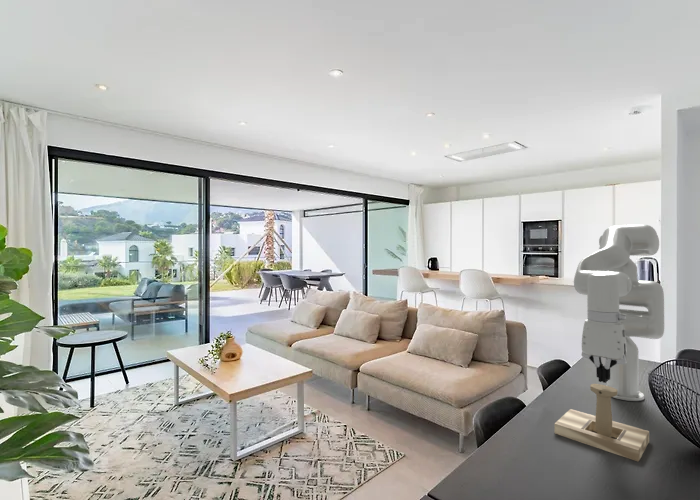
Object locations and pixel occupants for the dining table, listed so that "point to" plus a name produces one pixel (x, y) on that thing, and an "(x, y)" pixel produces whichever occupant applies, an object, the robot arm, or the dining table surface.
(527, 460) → the dining table surface
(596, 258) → the robot arm
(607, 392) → the handle
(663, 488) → the dining table surface
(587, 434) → the board
